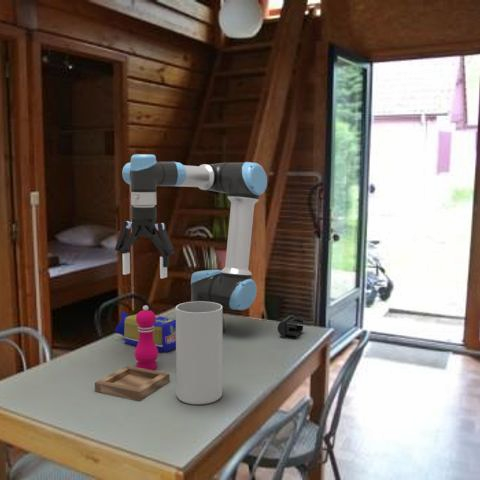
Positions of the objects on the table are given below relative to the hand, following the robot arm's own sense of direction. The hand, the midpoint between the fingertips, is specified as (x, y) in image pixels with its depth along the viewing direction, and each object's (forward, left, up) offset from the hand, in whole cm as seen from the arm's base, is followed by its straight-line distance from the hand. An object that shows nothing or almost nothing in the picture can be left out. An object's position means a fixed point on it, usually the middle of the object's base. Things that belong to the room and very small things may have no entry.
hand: (144, 275), depth 167 cm
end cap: (-52, +29, -30) cm, 67 cm away
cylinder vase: (+11, +25, -30) cm, 41 cm away
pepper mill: (0, 0, -29) cm, 29 cm away
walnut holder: (+14, +5, -29) cm, 33 cm away
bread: (-20, -13, -30) cm, 38 cm away
